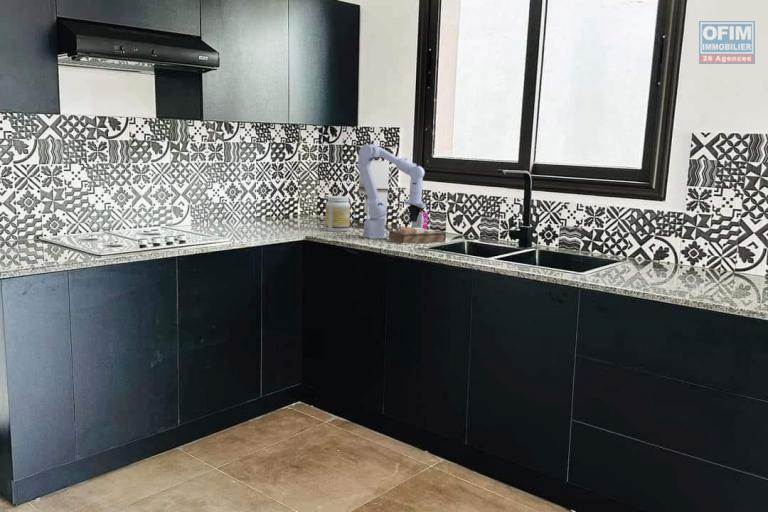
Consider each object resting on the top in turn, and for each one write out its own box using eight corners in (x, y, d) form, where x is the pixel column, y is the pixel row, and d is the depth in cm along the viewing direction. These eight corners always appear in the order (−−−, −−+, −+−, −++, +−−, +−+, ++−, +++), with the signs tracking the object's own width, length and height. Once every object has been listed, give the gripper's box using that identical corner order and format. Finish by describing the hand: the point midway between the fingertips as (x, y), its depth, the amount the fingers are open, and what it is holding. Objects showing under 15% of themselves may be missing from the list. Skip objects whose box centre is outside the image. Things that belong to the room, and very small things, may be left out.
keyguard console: (402, 244, 313) (403, 234, 312) (388, 239, 323) (389, 230, 322) (445, 242, 326) (445, 233, 325) (430, 238, 336) (431, 229, 335)
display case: (375, 226, 369) (378, 160, 363) (385, 229, 360) (389, 161, 354) (356, 226, 363) (359, 159, 357) (366, 229, 354) (370, 161, 348)
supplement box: (420, 236, 340) (421, 213, 338) (410, 234, 343) (411, 212, 341) (426, 235, 344) (428, 212, 342) (417, 234, 348) (418, 211, 346)
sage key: (427, 238, 324) (427, 231, 324) (422, 237, 328) (422, 229, 327) (435, 238, 327) (435, 230, 326) (429, 236, 330) (430, 229, 330)
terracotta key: (404, 237, 317) (405, 229, 317) (399, 235, 321) (399, 228, 320) (412, 236, 320) (413, 229, 319) (407, 235, 323) (407, 228, 323)
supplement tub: (353, 230, 348) (355, 197, 345) (341, 233, 337) (342, 198, 334) (333, 227, 353) (334, 195, 350) (320, 230, 342) (321, 196, 340)
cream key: (416, 236, 321) (416, 229, 320) (411, 235, 324) (411, 227, 324) (424, 236, 323) (424, 229, 323) (418, 235, 327) (419, 227, 326)
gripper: (432, 194, 315) (429, 223, 318) (413, 190, 327) (412, 219, 330) (419, 194, 311) (417, 223, 314) (401, 190, 323) (399, 219, 326)
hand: (413, 221), depth 321 cm, fingers closed
